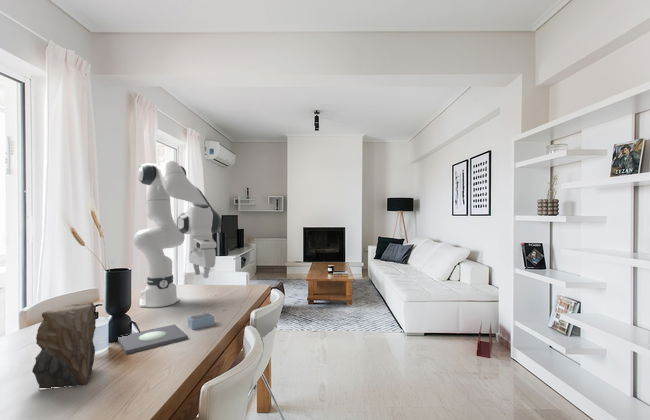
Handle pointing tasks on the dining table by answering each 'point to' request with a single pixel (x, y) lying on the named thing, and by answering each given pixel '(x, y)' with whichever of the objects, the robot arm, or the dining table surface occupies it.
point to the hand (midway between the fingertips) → (201, 276)
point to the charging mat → (151, 338)
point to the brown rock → (65, 346)
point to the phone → (200, 321)
